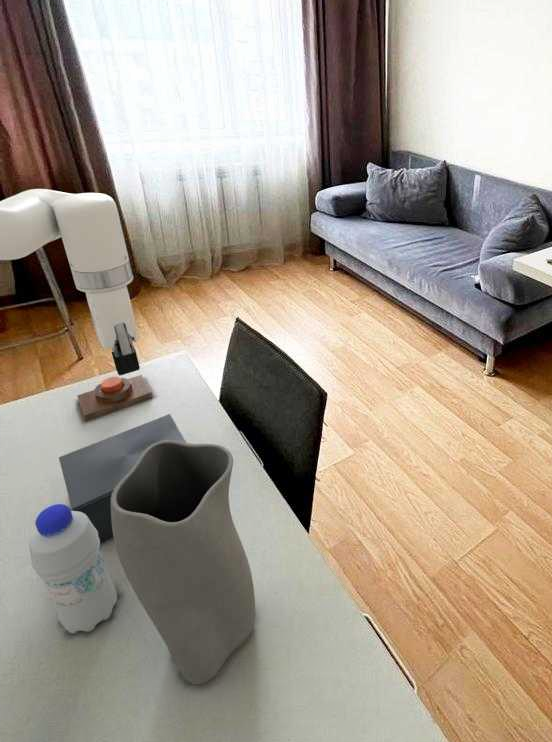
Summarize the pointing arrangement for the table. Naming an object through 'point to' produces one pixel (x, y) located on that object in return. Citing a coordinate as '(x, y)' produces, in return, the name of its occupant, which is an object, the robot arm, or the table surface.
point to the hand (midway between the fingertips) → (128, 370)
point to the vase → (185, 553)
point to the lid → (111, 460)
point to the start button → (112, 384)
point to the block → (114, 398)
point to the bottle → (72, 567)
